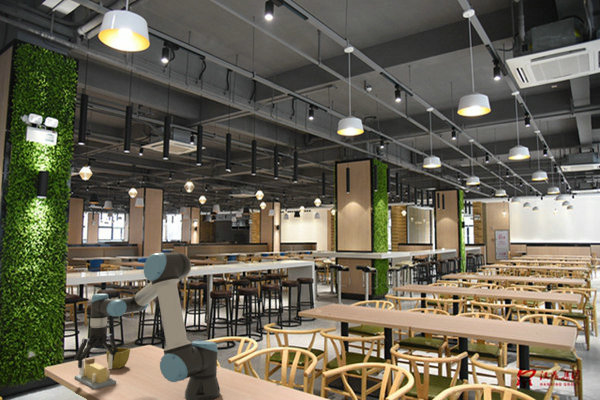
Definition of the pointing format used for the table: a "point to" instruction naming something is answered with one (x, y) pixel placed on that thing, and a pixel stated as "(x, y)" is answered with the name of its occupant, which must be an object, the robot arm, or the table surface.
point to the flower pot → (120, 357)
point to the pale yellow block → (95, 370)
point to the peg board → (96, 385)
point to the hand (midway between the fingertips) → (96, 371)
